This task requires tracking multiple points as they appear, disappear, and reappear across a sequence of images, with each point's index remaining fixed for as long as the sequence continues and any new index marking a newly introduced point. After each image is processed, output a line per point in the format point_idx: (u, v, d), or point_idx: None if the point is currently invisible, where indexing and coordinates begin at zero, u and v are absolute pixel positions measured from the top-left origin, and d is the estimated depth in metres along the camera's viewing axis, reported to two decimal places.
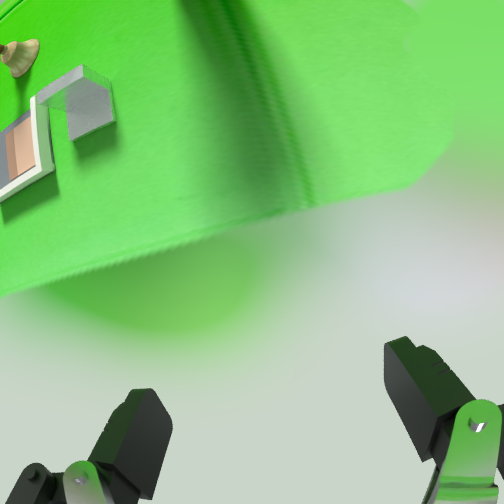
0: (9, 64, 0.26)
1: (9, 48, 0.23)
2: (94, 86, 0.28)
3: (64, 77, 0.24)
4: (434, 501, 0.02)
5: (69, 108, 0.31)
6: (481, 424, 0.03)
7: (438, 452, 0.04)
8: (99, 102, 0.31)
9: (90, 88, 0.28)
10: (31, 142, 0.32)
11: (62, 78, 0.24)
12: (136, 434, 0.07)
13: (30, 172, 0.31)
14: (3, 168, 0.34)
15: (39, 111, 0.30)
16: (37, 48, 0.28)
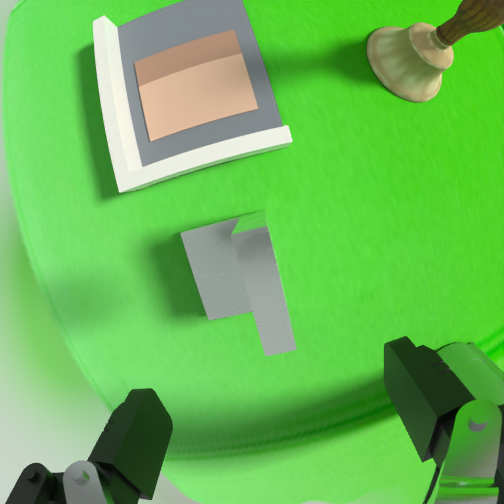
0: (401, 40, 0.15)
1: (440, 52, 0.13)
2: None
3: (278, 313, 0.16)
4: (434, 501, 0.02)
5: None
6: (481, 424, 0.03)
7: (438, 453, 0.04)
8: (243, 293, 0.24)
9: None
10: (195, 118, 0.20)
11: (279, 305, 0.16)
12: (137, 434, 0.07)
13: (119, 156, 0.19)
14: (164, 35, 0.18)
15: (251, 152, 0.19)
16: (417, 99, 0.19)
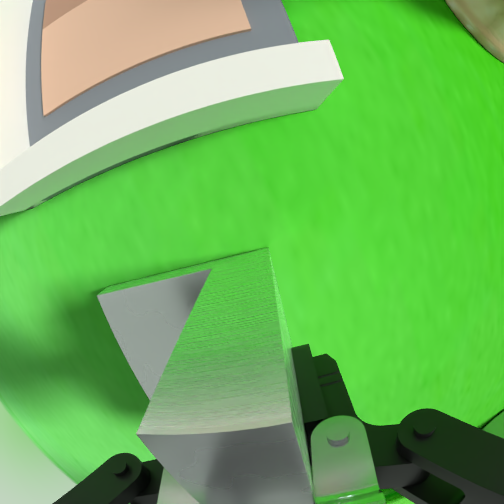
0: None
1: None
2: None
3: None
4: None
5: None
6: (335, 441, 0.05)
7: None
8: None
9: None
10: (120, 58, 0.08)
11: None
12: None
13: None
14: None
15: (232, 109, 0.07)
16: None
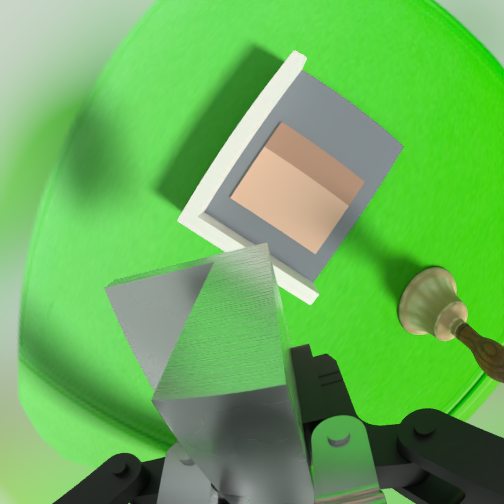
0: (439, 300, 0.23)
1: (448, 333, 0.22)
2: None
3: None
4: None
5: None
6: (336, 441, 0.05)
7: None
8: None
9: None
10: (273, 218, 0.24)
11: None
12: None
13: (202, 197, 0.21)
14: (322, 126, 0.23)
15: None
16: (406, 329, 0.28)
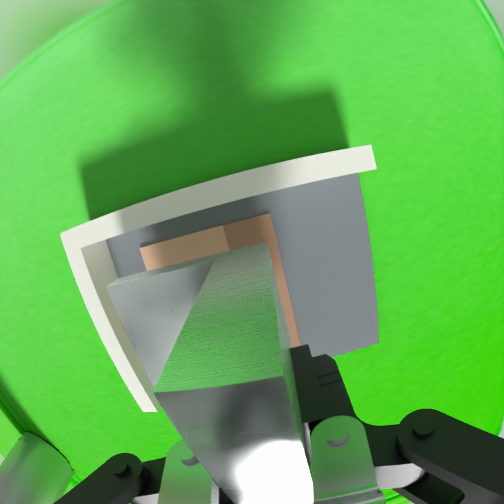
0: None
1: None
2: None
3: None
4: None
5: None
6: (335, 441, 0.05)
7: None
8: None
9: None
10: None
11: (301, 501, 0.05)
12: None
13: (97, 233, 0.13)
14: (312, 257, 0.16)
15: None
16: None
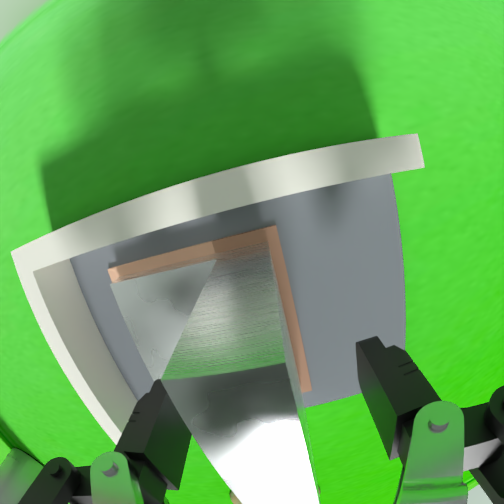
0: None
1: None
2: None
3: (295, 499, 0.05)
4: None
5: None
6: (440, 426, 0.04)
7: (403, 451, 0.05)
8: None
9: None
10: None
11: (301, 493, 0.05)
12: (164, 423, 0.07)
13: (49, 254, 0.09)
14: (331, 283, 0.12)
15: None
16: (232, 500, 0.18)
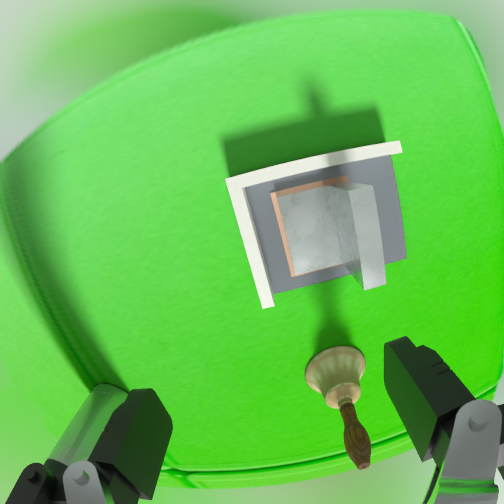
0: (345, 375, 0.30)
1: (335, 401, 0.28)
2: (349, 265, 0.25)
3: (376, 252, 0.20)
4: (434, 501, 0.02)
5: (331, 197, 0.26)
6: (481, 424, 0.03)
7: (438, 453, 0.04)
8: (327, 249, 0.28)
9: (348, 260, 0.25)
10: None
11: (378, 246, 0.20)
12: (137, 434, 0.07)
13: (256, 179, 0.25)
14: None
15: None
16: (306, 377, 0.34)
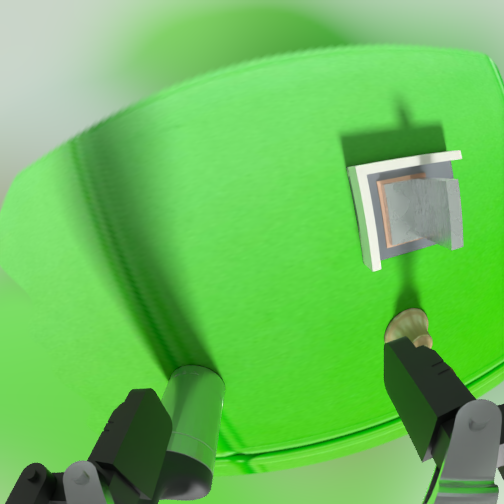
0: (421, 329, 0.35)
1: None
2: (433, 236, 0.30)
3: (458, 223, 0.26)
4: (434, 501, 0.02)
5: (419, 187, 0.31)
6: (481, 424, 0.03)
7: (438, 453, 0.04)
8: (414, 226, 0.33)
9: (434, 232, 0.30)
10: None
11: (459, 220, 0.26)
12: (137, 434, 0.07)
13: (376, 169, 0.30)
14: None
15: (367, 247, 0.33)
16: (386, 337, 0.39)
